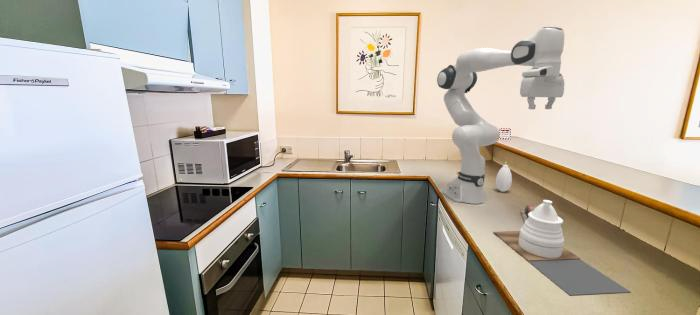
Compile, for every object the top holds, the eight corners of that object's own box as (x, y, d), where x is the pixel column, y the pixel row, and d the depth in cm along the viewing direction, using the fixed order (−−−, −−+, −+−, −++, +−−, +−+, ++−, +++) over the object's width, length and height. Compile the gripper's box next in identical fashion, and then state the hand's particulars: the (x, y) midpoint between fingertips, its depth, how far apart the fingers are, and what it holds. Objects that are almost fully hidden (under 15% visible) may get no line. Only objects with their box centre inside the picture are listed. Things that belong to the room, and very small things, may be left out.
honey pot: (563, 262, 91) (573, 209, 87) (517, 250, 98) (524, 201, 94) (560, 245, 102) (569, 197, 98) (518, 235, 108) (525, 190, 105)
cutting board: (493, 233, 112) (493, 231, 112) (536, 231, 113) (536, 230, 113) (528, 262, 92) (528, 260, 92) (580, 259, 94) (580, 258, 94)
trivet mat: (528, 262, 92) (528, 261, 92) (580, 259, 94) (580, 259, 94) (569, 295, 77) (569, 295, 77) (630, 292, 78) (630, 291, 78)
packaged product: (521, 202, 132) (546, 206, 128) (519, 212, 133) (545, 216, 129) (527, 217, 116) (556, 221, 112) (525, 228, 117) (554, 233, 113)
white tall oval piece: (498, 188, 167) (501, 158, 163) (512, 191, 161) (516, 160, 157) (492, 191, 162) (495, 160, 158) (506, 194, 156) (510, 162, 152)
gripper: (554, 74, 115) (549, 108, 117) (519, 71, 107) (514, 109, 110) (571, 72, 109) (565, 109, 112) (535, 70, 101) (529, 109, 104)
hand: (540, 109), depth 111 cm, fingers open, 8 cm apart
